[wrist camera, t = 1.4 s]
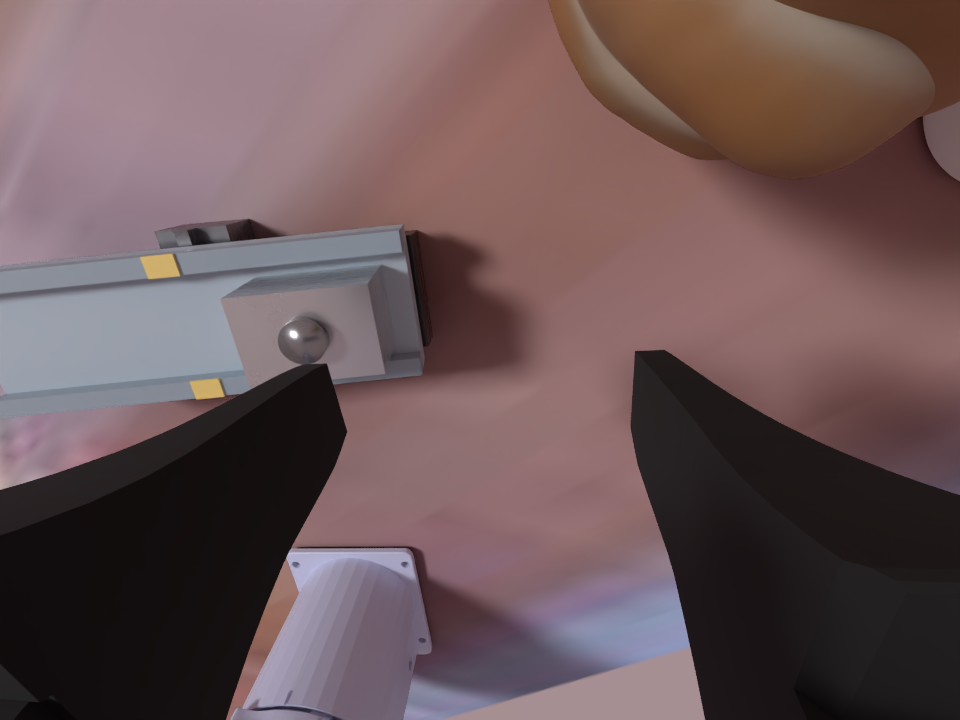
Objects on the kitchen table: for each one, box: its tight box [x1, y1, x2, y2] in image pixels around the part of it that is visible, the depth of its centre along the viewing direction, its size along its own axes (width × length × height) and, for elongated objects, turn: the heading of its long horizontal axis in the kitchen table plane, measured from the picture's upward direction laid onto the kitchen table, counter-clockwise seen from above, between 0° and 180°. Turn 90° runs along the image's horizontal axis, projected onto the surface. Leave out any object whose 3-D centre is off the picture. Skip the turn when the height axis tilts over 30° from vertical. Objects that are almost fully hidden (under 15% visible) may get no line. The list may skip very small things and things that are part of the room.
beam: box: [0, 224, 425, 418], centre depth 19 cm, size 6×18×2 cm, turn 95°
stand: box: [155, 219, 433, 346], centre depth 21 cm, size 7×18×2 cm, turn 95°
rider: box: [220, 264, 396, 388], centre depth 17 cm, size 3×5×4 cm
